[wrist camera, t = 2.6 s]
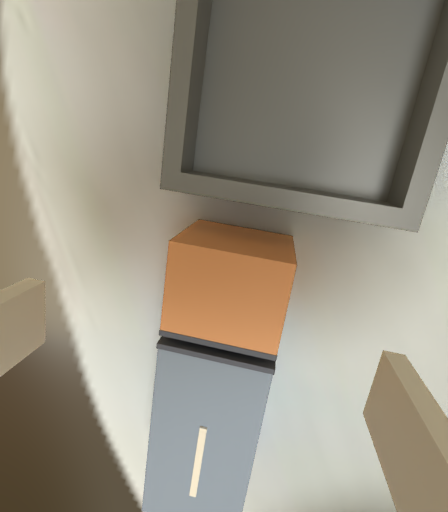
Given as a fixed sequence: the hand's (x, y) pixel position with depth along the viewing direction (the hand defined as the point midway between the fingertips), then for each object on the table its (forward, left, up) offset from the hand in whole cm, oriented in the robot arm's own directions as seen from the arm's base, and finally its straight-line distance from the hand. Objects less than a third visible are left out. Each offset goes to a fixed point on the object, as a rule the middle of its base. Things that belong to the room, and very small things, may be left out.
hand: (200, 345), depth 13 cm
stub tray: (-11, +2, -10) cm, 15 cm away
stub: (0, 0, -10) cm, 10 cm away
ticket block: (+9, 0, -10) cm, 13 cm away
